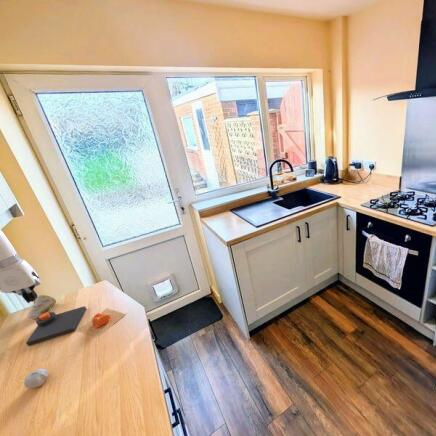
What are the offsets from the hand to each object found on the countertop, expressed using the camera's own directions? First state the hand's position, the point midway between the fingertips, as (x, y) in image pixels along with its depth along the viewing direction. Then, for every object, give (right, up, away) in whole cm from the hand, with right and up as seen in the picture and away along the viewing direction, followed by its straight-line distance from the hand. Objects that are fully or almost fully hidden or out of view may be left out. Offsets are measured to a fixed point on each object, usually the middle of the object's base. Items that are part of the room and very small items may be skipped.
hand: (32, 299), depth 97 cm
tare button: (+1, -9, +4) cm, 10 cm away
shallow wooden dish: (+25, -10, +3) cm, 27 cm away
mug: (-8, -10, +12) cm, 18 cm away
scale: (+7, -12, +3) cm, 15 cm away
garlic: (+22, -21, -18) cm, 35 cm away
